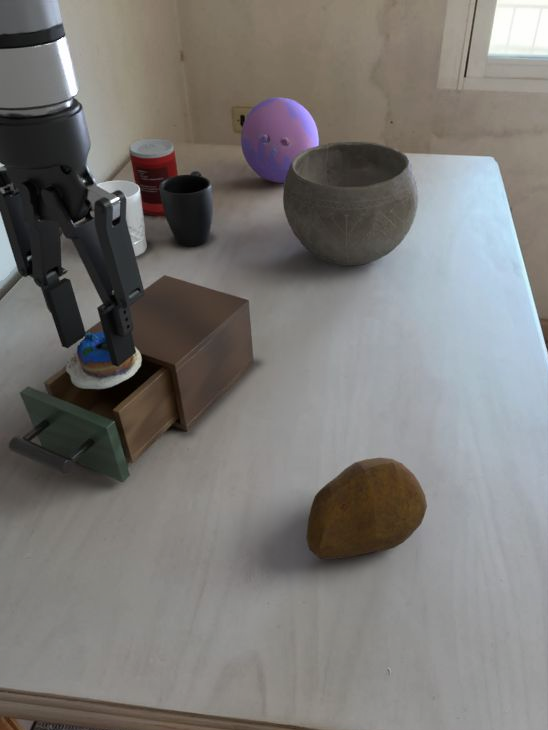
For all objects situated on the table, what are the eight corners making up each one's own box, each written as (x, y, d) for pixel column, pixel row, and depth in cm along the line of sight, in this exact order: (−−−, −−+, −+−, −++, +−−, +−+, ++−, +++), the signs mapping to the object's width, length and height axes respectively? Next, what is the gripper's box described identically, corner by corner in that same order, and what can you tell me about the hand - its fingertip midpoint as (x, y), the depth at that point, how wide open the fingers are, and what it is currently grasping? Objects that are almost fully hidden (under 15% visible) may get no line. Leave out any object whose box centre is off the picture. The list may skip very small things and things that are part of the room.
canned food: (168, 195, 121) (159, 135, 113) (190, 209, 116) (182, 147, 109) (132, 205, 117) (120, 144, 109) (153, 220, 112) (142, 157, 105)
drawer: (92, 513, 62) (71, 459, 57) (8, 474, 66) (-18, 419, 61) (198, 407, 74) (190, 354, 69) (123, 379, 78) (109, 326, 72)
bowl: (266, 270, 100) (261, 175, 90) (310, 216, 114) (310, 129, 104) (394, 293, 95) (404, 196, 85) (423, 234, 109) (434, 145, 99)
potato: (293, 509, 64) (291, 449, 58) (403, 489, 66) (412, 429, 60) (312, 579, 58) (312, 519, 52) (433, 553, 60) (446, 494, 54)
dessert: (158, 352, 66) (117, 334, 61) (133, 409, 66) (90, 397, 61) (109, 329, 70) (67, 311, 65) (86, 383, 70) (41, 370, 65)
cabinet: (187, 431, 72) (175, 365, 66) (102, 398, 76) (83, 332, 70) (253, 363, 82) (249, 299, 75) (175, 337, 86) (164, 274, 79)
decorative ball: (239, 194, 121) (232, 110, 111) (248, 165, 132) (243, 86, 122) (316, 196, 121) (317, 112, 111) (319, 166, 132) (320, 88, 122)
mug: (227, 221, 113) (222, 167, 106) (209, 252, 104) (203, 196, 97) (182, 217, 113) (174, 164, 107) (161, 248, 105) (152, 192, 98)
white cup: (111, 265, 100) (96, 204, 94) (95, 245, 105) (81, 186, 98) (157, 253, 104) (147, 193, 97) (140, 234, 108) (129, 176, 102)
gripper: (-97, 97, 49) (2, 343, 64) (89, 136, 42) (149, 398, 58) (-18, 75, 54) (56, 308, 69) (159, 107, 47) (197, 355, 63)
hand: (98, 349), depth 64 cm, fingers closed on dessert, 6 cm apart
